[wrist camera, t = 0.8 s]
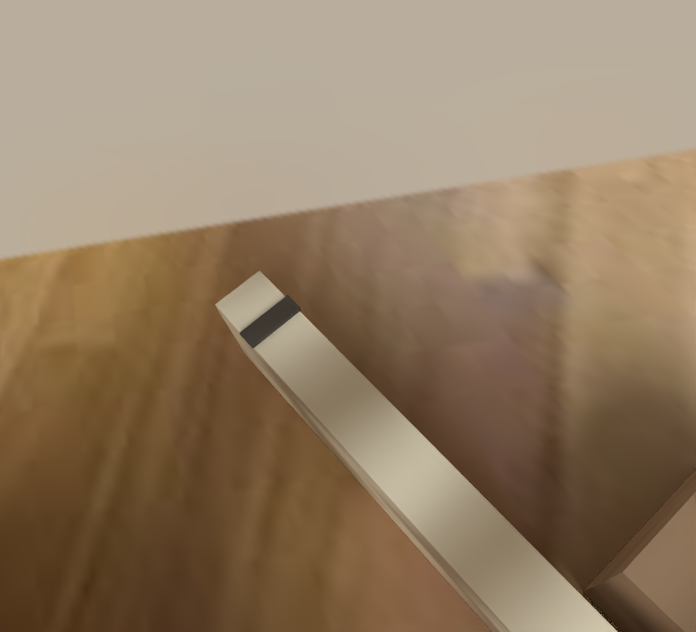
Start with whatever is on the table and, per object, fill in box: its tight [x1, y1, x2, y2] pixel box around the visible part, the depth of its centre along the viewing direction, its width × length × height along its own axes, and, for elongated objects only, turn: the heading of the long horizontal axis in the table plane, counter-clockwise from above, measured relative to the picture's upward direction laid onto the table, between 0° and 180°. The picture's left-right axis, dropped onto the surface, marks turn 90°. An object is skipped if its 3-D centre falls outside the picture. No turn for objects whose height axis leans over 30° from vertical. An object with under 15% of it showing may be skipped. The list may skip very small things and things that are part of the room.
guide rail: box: [215, 271, 617, 632], centre depth 19 cm, size 24×2×4 cm, turn 41°
